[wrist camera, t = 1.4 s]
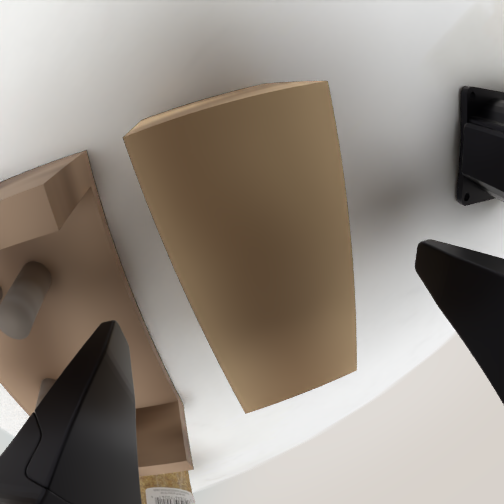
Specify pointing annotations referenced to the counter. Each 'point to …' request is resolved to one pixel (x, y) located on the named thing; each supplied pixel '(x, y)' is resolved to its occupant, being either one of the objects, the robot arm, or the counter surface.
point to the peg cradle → (75, 303)
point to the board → (257, 232)
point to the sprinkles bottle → (166, 489)
